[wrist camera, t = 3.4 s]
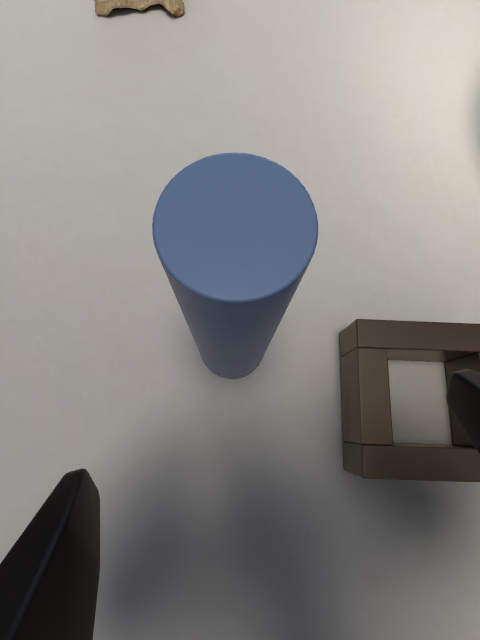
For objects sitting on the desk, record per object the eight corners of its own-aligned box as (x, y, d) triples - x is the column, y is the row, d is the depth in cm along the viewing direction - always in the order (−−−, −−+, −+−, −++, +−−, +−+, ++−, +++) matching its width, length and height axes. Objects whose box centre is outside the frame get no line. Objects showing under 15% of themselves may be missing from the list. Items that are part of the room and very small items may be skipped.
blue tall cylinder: (255, 385, 20) (300, 321, 7) (193, 369, 21) (129, 278, 8) (269, 325, 21) (333, 171, 8) (209, 310, 21) (178, 136, 8)
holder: (483, 475, 20) (527, 484, 17) (343, 470, 19) (363, 478, 17) (466, 337, 21) (504, 324, 18) (338, 332, 21) (356, 318, 18)
